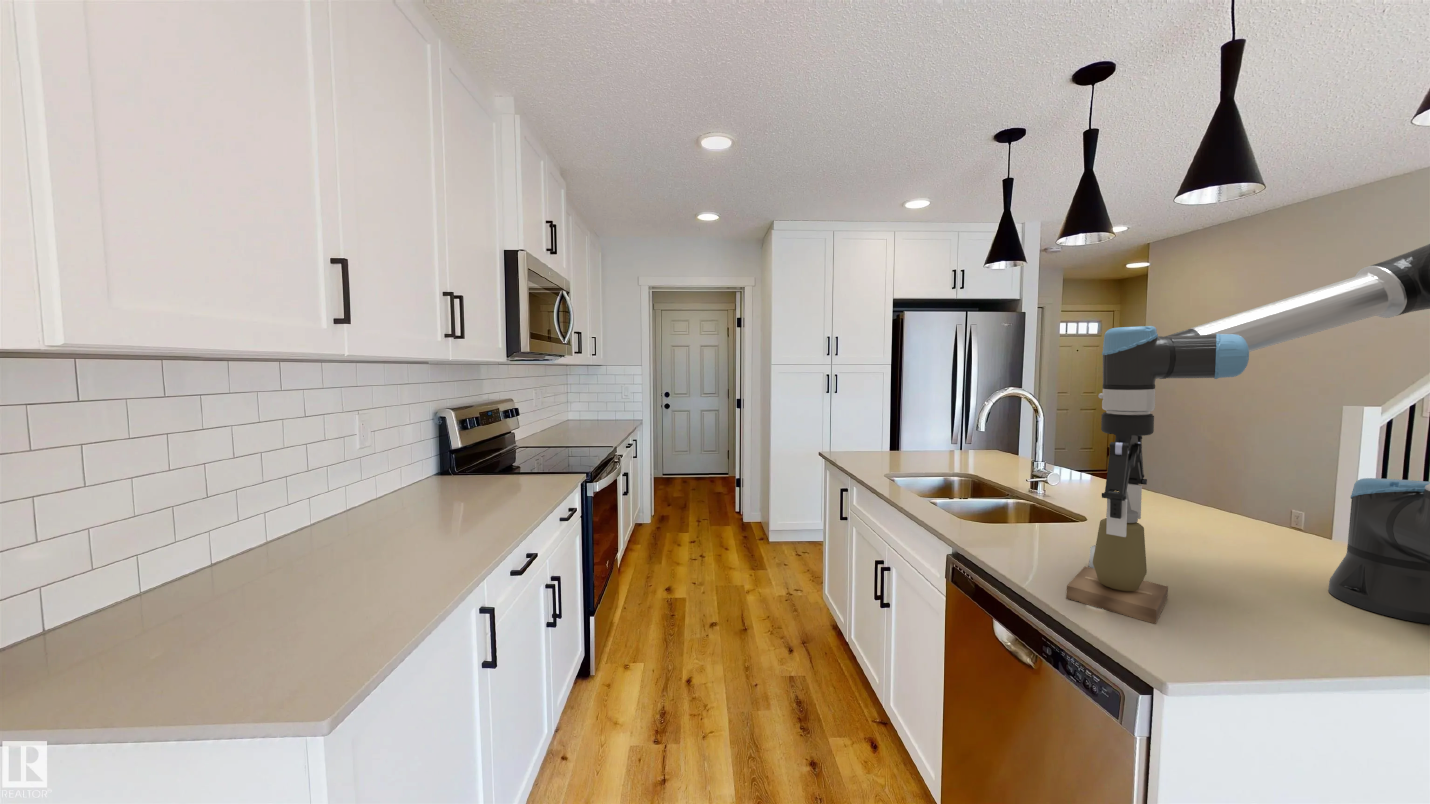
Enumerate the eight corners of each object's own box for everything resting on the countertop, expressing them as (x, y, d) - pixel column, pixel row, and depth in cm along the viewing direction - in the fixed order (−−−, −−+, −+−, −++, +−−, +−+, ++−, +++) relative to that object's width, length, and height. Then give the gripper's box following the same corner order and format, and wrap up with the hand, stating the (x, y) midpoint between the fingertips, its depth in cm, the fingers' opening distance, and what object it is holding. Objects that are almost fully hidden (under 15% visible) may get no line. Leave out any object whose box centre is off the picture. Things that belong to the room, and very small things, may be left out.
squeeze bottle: (1157, 591, 94) (1163, 495, 93) (1123, 597, 92) (1129, 499, 91) (1112, 573, 102) (1118, 484, 100) (1081, 579, 100) (1085, 487, 98)
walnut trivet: (1167, 599, 97) (1168, 585, 97) (1155, 624, 88) (1156, 609, 88) (1084, 577, 106) (1084, 565, 106) (1066, 598, 98) (1066, 584, 98)
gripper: (1116, 405, 105) (1114, 507, 107) (1084, 417, 89) (1082, 538, 90) (1165, 406, 100) (1161, 514, 101) (1140, 420, 83) (1137, 548, 85)
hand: (1124, 526), depth 96 cm, fingers open, 13 cm apart
